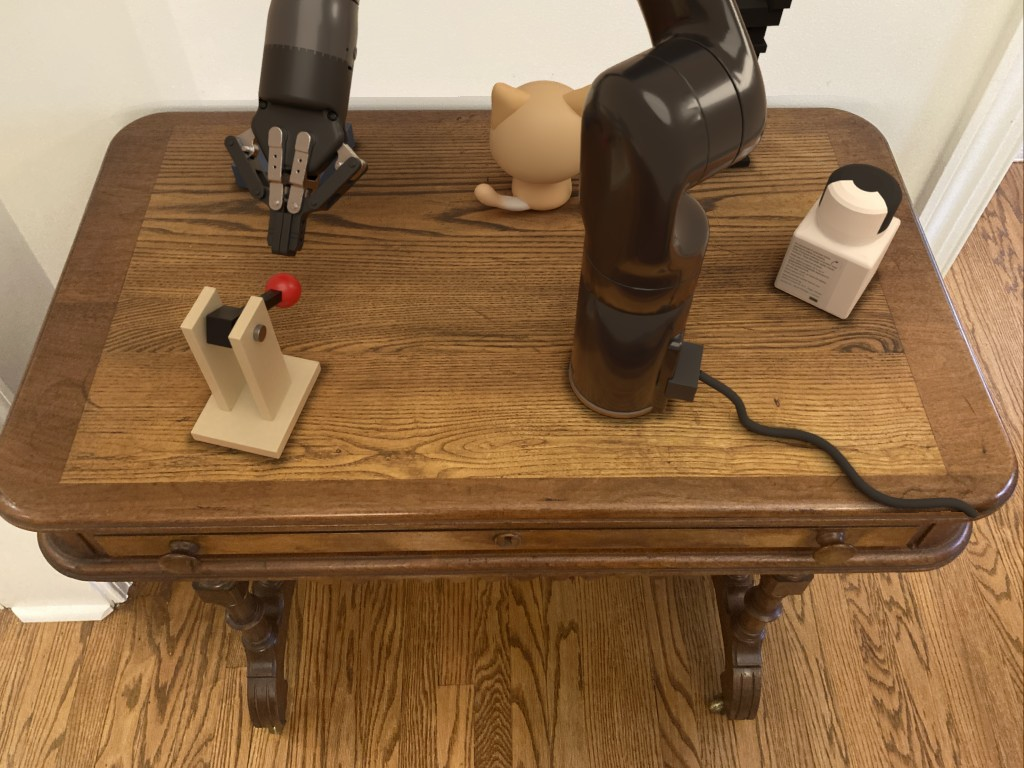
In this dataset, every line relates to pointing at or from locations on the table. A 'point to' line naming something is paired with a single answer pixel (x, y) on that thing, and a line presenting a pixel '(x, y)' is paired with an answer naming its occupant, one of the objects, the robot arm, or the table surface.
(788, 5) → the chess piece
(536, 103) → the kitten
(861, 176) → the container
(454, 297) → the table surface
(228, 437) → the lever stand
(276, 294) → the red knob lever
